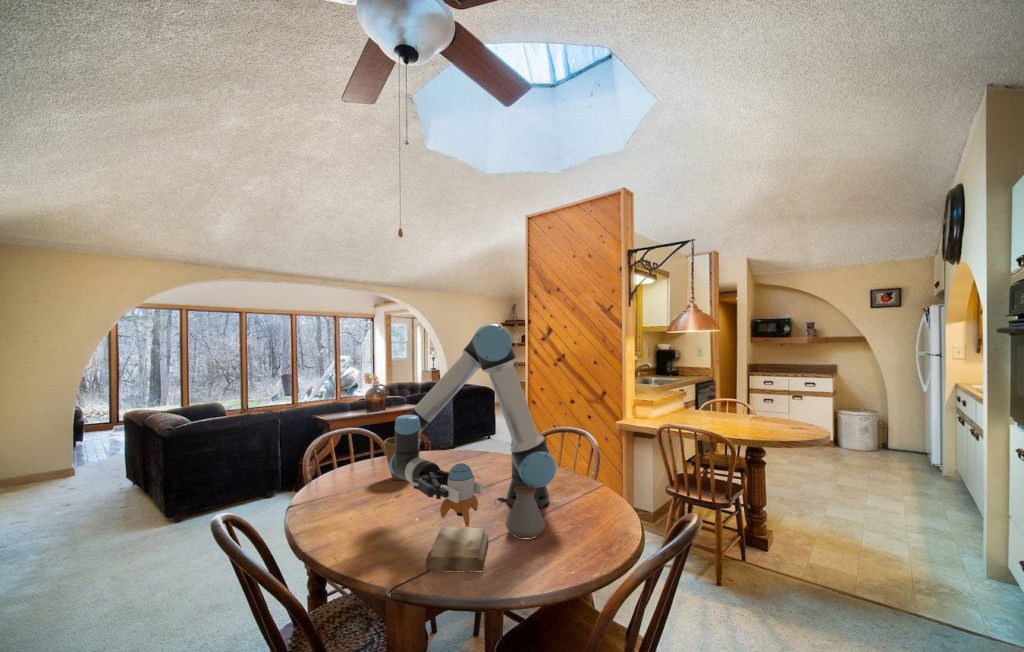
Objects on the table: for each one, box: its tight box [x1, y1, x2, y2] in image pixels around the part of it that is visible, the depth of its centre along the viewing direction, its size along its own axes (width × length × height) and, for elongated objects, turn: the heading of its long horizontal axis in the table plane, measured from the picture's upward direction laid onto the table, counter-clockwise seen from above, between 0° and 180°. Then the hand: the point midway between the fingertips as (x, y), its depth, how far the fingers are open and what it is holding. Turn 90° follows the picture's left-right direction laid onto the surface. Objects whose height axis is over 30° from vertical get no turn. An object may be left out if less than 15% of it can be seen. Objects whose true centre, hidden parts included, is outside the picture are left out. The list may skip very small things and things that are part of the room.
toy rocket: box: [439, 462, 479, 528], centre depth 109 cm, size 10×11×15 cm
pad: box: [425, 527, 489, 573], centre depth 109 cm, size 14×14×5 cm
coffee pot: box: [493, 486, 546, 538], centre depth 119 cm, size 21×12×15 cm, turn 150°
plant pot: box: [383, 436, 421, 481], centre depth 176 cm, size 15×15×16 cm
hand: (469, 493), depth 106 cm, fingers closed on toy rocket, 7 cm apart
